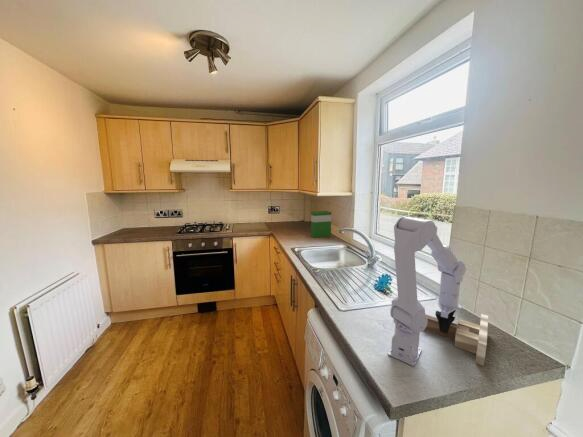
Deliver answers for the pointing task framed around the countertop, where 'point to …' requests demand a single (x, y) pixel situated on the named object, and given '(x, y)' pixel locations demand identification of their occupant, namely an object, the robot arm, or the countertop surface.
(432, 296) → the countertop surface
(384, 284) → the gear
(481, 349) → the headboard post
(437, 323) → the bed rail
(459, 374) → the countertop surface
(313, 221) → the hardback book
